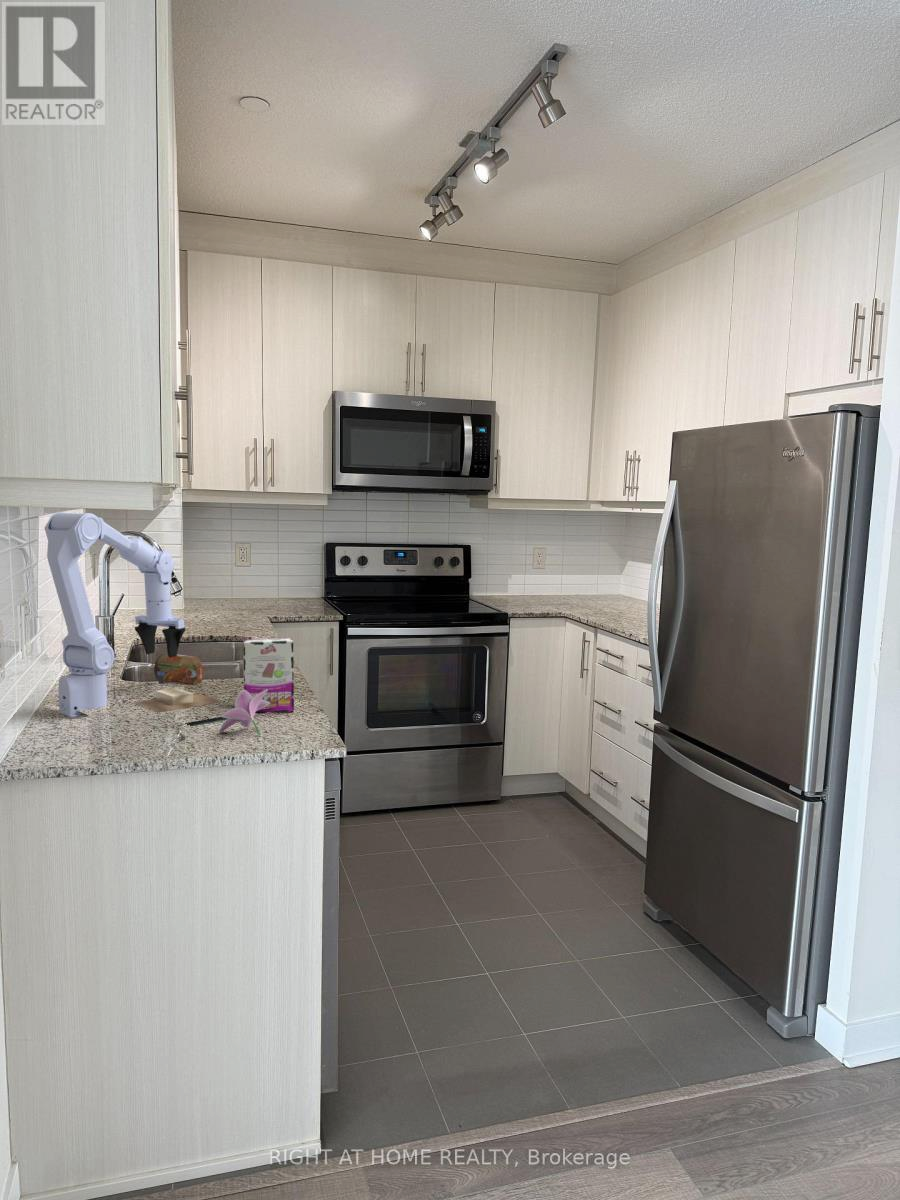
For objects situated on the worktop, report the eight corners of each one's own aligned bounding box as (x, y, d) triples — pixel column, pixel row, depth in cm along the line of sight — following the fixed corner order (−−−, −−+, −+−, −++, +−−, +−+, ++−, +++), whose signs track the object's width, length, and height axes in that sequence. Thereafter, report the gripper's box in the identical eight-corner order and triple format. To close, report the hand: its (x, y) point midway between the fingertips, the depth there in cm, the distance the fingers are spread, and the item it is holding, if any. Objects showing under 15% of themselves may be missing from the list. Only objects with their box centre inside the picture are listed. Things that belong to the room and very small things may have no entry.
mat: (193, 727, 174) (193, 725, 174) (167, 717, 181) (167, 716, 181) (243, 718, 183) (243, 716, 183) (216, 709, 190) (216, 707, 190)
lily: (279, 730, 177) (261, 689, 178) (289, 721, 167) (270, 677, 168) (226, 754, 172) (207, 711, 173) (232, 746, 162) (213, 701, 163)
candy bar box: (292, 707, 194) (292, 637, 192) (294, 712, 189) (294, 640, 187) (242, 709, 191) (242, 638, 189) (243, 714, 186) (243, 641, 184)
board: (158, 719, 180) (158, 712, 180) (132, 709, 188) (132, 702, 188) (224, 707, 192) (223, 701, 192) (197, 699, 200) (197, 693, 200)
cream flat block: (172, 705, 187) (172, 696, 187) (155, 699, 192) (155, 690, 192) (193, 702, 190) (193, 693, 190) (175, 696, 196) (175, 687, 196)
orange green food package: (153, 684, 216) (152, 652, 215) (162, 682, 219) (162, 650, 218) (196, 691, 209) (196, 658, 208) (205, 689, 212) (205, 656, 211)
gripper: (192, 600, 202) (195, 654, 205) (149, 596, 209) (152, 648, 211) (170, 604, 196) (173, 660, 198) (127, 599, 203) (130, 654, 205)
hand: (161, 655), depth 204 cm, fingers open, 7 cm apart
